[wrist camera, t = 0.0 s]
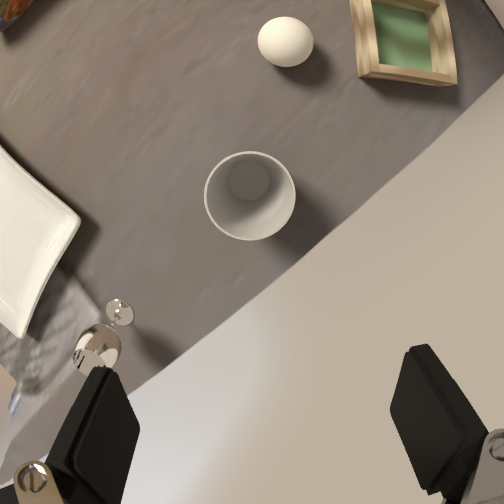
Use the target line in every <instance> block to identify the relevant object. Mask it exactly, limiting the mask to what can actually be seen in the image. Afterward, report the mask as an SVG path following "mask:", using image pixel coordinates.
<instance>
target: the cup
mask: <svg viewBox="0 0 504 504" xmlns="http://www.w3.org/2000/svg"><path fill="white" fill-rule="evenodd" d="M204 202H205V207H206V210H207V213H208V215H209V217H210V219H211V220H212V222H213V223H214V224H215V225H216V226H217V227H218V228H219V229H220V230H221V231H222V232H224V233H225V234H227V235H229V236H231V237H234V238H237V239H241V240H259V239H263V238H266V237H268V236H270V235H272V234H274V233H276V232H277V231H278V230H280V229H281V228H282V227H283V226H284V225H285V224H286V222H287V221H288V219H289V218H290V216H291V214H292V212H293V209H294V205H295V187H294V183H293V180H292V178H291V176H290V174H289V172H288V171H287V169H286V168H285V167H284V166H283V165H282V164H281V163H280V162H279V161H278V160H276V159H275V158H273V157H271V156H269V155H267V154H264V153H260V152H253V151H247V152H240V153H236V154H233V155H231V156H229V157H227V158H225V159H224V160H222V161H221V162H220V163H219V164H218V165H217V166H216V167H215V168H214V169H213V170H212V172H211V173H210V175H209V177H208V179H207V182H206V185H205V190H204Z"/></svg>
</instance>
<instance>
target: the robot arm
mask: <svg viewBox="0 0 504 504" xmlns="http://www.w3.org/2000/svg"><path fill="white" fill-rule="evenodd" d="M390 413H391V417H392V419H393V421H394V424H395V426H396V428H397V430H398V433H399V435H400V438H401V440H402V442H403V445H404V447H405V449H406V452H407V454H408V457H409V459H410V461H411V464H412V467H413V469H414V472H415V474H416V477H417V479H418V482H419V484H420V487H421V488H422V489H423V490H425V489H426V491H427V493H428V495H431V494H434V493H437V492H439V491H441V493H442V496H443V501H442V503H441V504H504V429H497V430H494V431H492V432H490V433H489V432H488V431H487V429H486V427H485V426H484V424H483V423H482V421H481V419H480V418H479V416H478V415H477V413H476V412H475V410H474V409H473V407H472V406H471V404H470V403H469V401H468V399H467V398H466V396H465V395H464V393H463V392H462V390H461V389H460V387H459V386H458V385H457V383H456V382H455V380H454V379H453V378H452V377H451V375H450V374H449V372H448V371H447V370H446V368H445V367H444V365H443V364H442V363H441V361H440V360H439V358H438V357H437V356H436V354H435V353H434V351H433V350H432V349H431V347H430V346H429V345H428V344H422V345H417V346H412V347H411V348H410V349H409V352H406V353H405V356H404V359H403V363H402V367H401V371H400V375H399V378H398V383H397V385H396V389H395V393H394V396H393V399H392V402H391V406H390ZM139 432H140V426H139V422H138V420H137V418H136V416H135V414H134V411H133V409H132V407H131V405H130V403H129V400H128V398H127V395H126V393H125V391H124V388H123V386H122V383H121V381H120V379H119V376H118V374H117V373H116V372H113V370H112V369H111V368H110V367H96V366H95V367H93V368H92V370H91V372H90V374H89V376H88V377H87V379H86V381H85V383H84V385H83V387H82V389H81V391H80V392H79V394H78V396H77V398H76V400H75V402H74V404H73V406H72V407H71V409H70V411H69V413H68V415H67V417H66V419H65V421H64V423H63V425H62V427H61V429H60V431H59V433H58V435H57V437H56V440H55V442H54V444H53V446H52V448H51V450H50V452H49V454H48V457H47V459H46V461H45V463H43V462H40V461H34V460H32V461H28V462H25V463H23V464H22V465H21V466H20V467H18V468H17V470H16V472H15V474H14V484H12V485H9V486H7V487H4V488H1V489H0V504H121V499H122V495H123V492H124V488H125V484H126V480H127V476H128V473H129V469H130V465H131V461H132V458H133V454H134V451H135V447H136V443H137V440H138V436H139Z"/></svg>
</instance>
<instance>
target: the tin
mask: <svg viewBox="0 0 504 504" xmlns="http://www.w3.org/2000/svg"><path fill="white" fill-rule="evenodd" d="M34 1H35V0H0V32H2V31H4V30H5V29H7V28H8V27H10V26H11V25H12V24H14V23H15V22H16V21H17V20H18V18H19V17H20V16H21V15H22V14H23V13H24V12H25V11H26V10H27V9H28V7H29V6H30V5H31V4H32V3H33V2H34Z"/></svg>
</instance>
